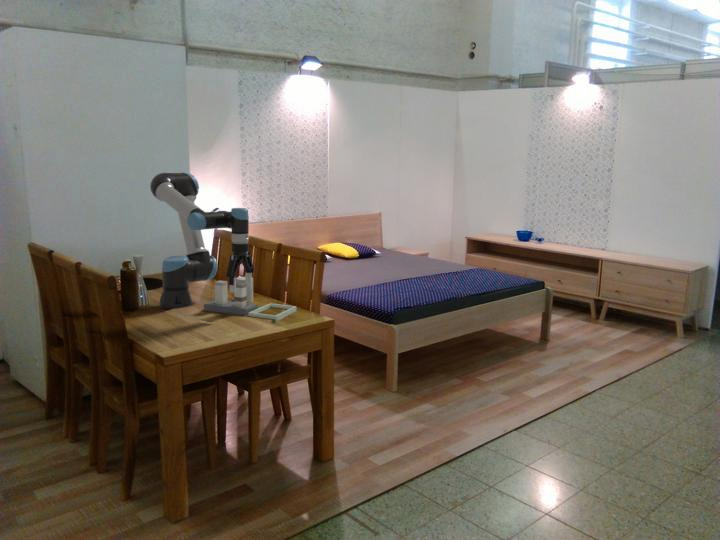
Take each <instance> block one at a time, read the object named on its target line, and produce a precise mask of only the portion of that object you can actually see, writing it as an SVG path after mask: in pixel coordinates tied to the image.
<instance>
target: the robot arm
mask: <svg viewBox="0 0 720 540" xmlns="http://www.w3.org/2000/svg"><path fill="white" fill-rule="evenodd" d="M149 188H150V191H151V193H152V195H153V197H154V198H156V199H157V200H158V201H160V202H165V203H166V204H167V205H168V206H169V207H171V208H172V210H174V211H176V212H177V214H178V219H179V223H180V226H181V231H182V235H183V240H184V243H185V247H186V254H184V255H175V256H169V257H166V258H164V259H163V260H162V262H161V263H162V265H161V267H162V268H161V271H162V273H161V276H162V292H161V296H160V299H159V308H160V309H163V310H168V311H169V310H173V309H181V308H187V307H191V306H192V305H193V304H194V303H193V299H192V295H191V293H190V289H189V288H190V286H189V284H190V283H195V282H202V281H203V282H206V281H208V280H212V279H213V278H215V276H216V274H217V272H218V262H217V259H216V258H215V257H214V256H213V255H211V254H210V250H208V249H207V248H206V246H205V243H204V239H203V233H202V231H203V230H213V229H230V230H231V243H232V244H231V251H232V252H233V253H234V254H231V255H229V262H228V267H227V270H226V273H225V277H226V278H228V279H229V280H228V282H229V283H228V284H229V293H233V294H234V293H235V292H236V278H237V277H236V274H237V272H238V269H239V267H240V266H241V265H242V266H243V268H244V270H245V274H244V277H245V283H247V287H251V277H252V273H254V271H255V268H254V264H253V260H252V257H251V252H250V250H249V249H250V244H249V241H250V240H249V239H250V236H249V231H250V229H249V228H250V226H249V224H250V223H249V222H250V221H249V218H250V217H249V209H248V208H246V207H233V208H231V210H230V211H226V210H218V211H204V210H203V209H201V208H200V207H199V206H198V205H196V203H195V201H196V199H197V196H198V194H199V189H200V185H199V182H198V179H197V178H196V177H195V175H194V174H192V173H186V172H161V173H157V174H156V175H155V176H154V177H153V178H152V180H151V182H150V187H149Z"/></svg>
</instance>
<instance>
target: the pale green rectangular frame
mask: <svg viewBox="0 0 720 540" xmlns="http://www.w3.org/2000/svg"><path fill="white" fill-rule="evenodd" d="M270 308H272V309H273V308H274V309H283V310H285V311H282V312H280V313H278V314H276V315H274V314H269V313H268V314H267V313H261V312H263V311H265V310H268V309H270ZM294 312H295V313H296V312H297V306H294V305H285V304H278V303H271V302H270V303H268V304H265V305H263V306H260V307H257V309H256V310H253V311H251V312H249V313H248V315H247V316H248V317H251V318H252V317H253V318H262V319H267V320H268V319H270V320H271V322H275V321H276V323H277V322H279V321H281V320H282V319H285V318H287V317H289V316H291V315H292V313H293V314H295V313H294ZM290 314H291V315H290ZM288 315H289V316H288ZM286 316H287V317H286ZM284 317H285V318H284Z"/></svg>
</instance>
